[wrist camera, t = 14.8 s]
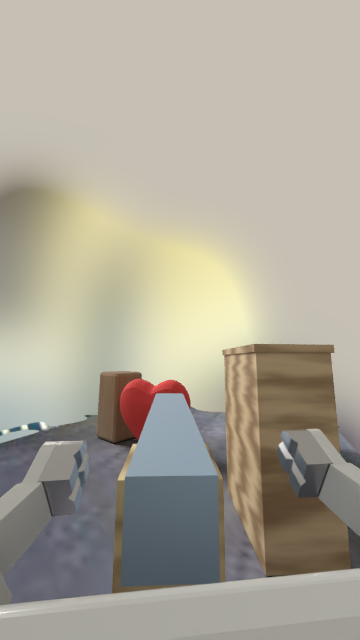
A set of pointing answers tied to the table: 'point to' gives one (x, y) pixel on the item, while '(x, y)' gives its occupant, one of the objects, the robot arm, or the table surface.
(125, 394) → the heart
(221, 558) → the block
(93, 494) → the table surface
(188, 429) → the blue bar
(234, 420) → the oak stand
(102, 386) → the block
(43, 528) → the robot arm
